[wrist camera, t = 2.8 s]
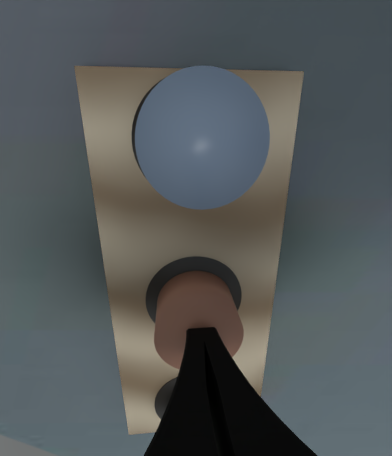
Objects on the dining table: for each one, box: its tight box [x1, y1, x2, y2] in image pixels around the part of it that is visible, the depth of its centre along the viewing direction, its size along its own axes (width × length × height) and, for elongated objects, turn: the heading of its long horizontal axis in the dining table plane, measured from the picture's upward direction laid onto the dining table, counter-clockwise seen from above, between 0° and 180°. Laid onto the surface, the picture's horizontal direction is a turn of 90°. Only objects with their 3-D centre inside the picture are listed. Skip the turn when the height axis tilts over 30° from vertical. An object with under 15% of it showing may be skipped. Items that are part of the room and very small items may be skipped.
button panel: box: [74, 66, 304, 435], centre depth 16 cm, size 24×10×2 cm, turn 179°
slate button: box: [135, 65, 270, 210], centre depth 9 cm, size 4×4×3 cm
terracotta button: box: [154, 271, 244, 369], centre depth 13 cm, size 4×4×3 cm
